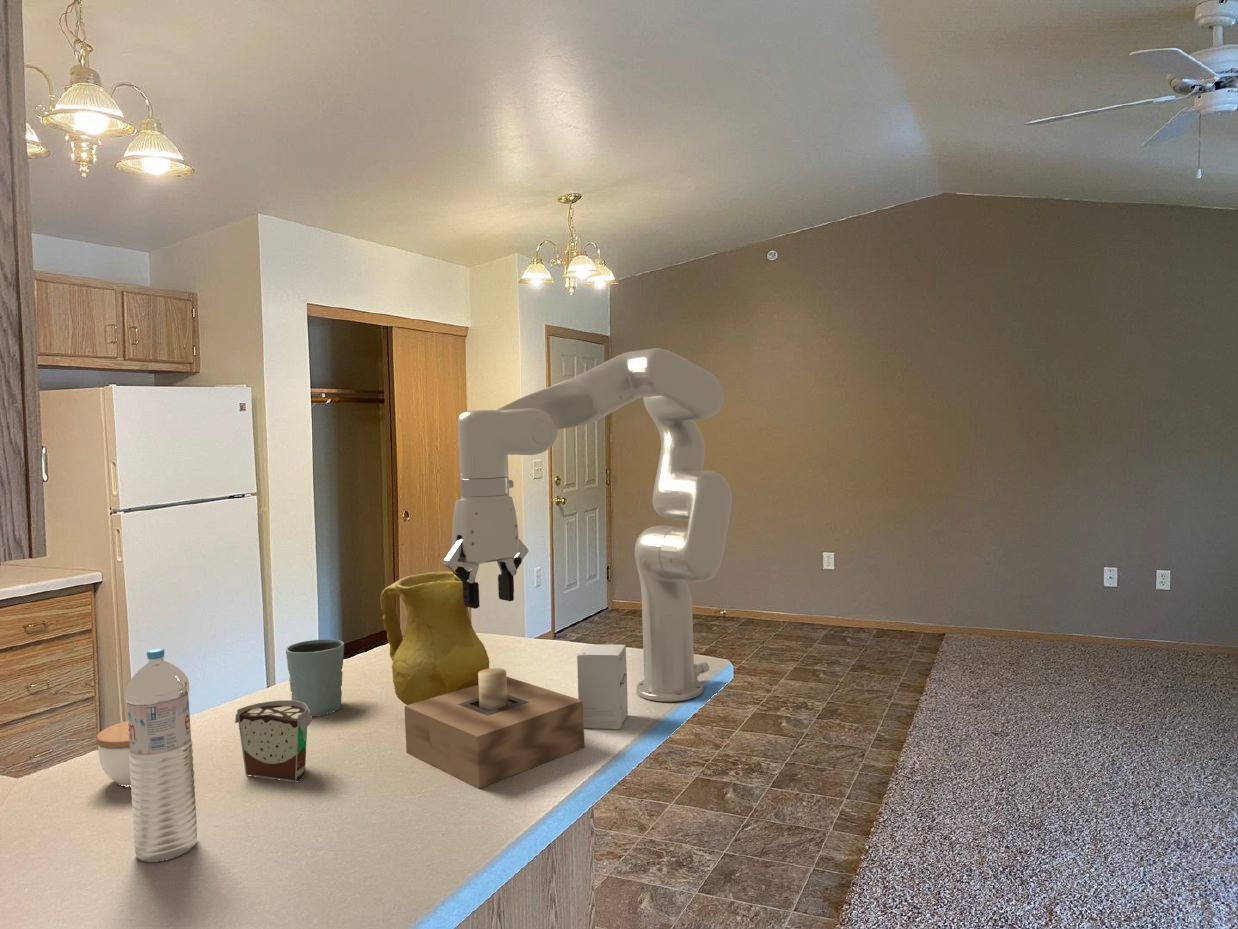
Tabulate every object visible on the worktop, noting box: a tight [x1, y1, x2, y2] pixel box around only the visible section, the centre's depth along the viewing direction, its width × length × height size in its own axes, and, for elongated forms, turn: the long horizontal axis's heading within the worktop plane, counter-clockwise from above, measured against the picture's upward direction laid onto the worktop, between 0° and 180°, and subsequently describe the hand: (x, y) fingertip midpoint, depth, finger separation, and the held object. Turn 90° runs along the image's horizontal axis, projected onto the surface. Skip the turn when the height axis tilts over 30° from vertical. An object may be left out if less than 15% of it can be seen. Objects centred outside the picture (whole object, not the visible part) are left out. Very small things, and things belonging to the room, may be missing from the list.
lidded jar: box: [96, 720, 131, 786], centre depth 123 cm, size 11×11×9 cm
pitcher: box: [379, 571, 490, 706], centre depth 148 cm, size 17×19×25 cm
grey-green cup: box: [285, 638, 345, 717], centre depth 153 cm, size 10×10×12 cm
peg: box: [478, 667, 508, 711], centre depth 130 cm, size 4×4×7 cm
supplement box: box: [576, 643, 629, 730], centre depth 141 cm, size 7×7×13 cm
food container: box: [234, 699, 313, 783], centre depth 125 cm, size 12×6×10 cm, turn 71°
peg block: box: [404, 676, 585, 790], centre depth 130 cm, size 20×20×8 cm
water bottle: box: [124, 647, 198, 863], centre depth 101 cm, size 7×7×25 cm
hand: (489, 602), depth 129 cm, fingers open, 5 cm apart
